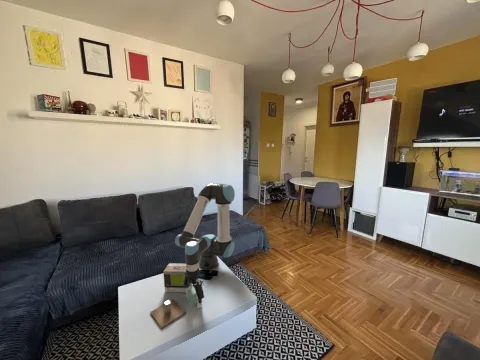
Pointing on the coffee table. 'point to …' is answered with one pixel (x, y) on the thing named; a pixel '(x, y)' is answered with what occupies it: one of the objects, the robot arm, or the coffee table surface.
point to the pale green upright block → (192, 296)
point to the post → (167, 307)
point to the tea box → (175, 277)
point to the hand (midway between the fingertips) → (194, 301)
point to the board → (165, 318)
